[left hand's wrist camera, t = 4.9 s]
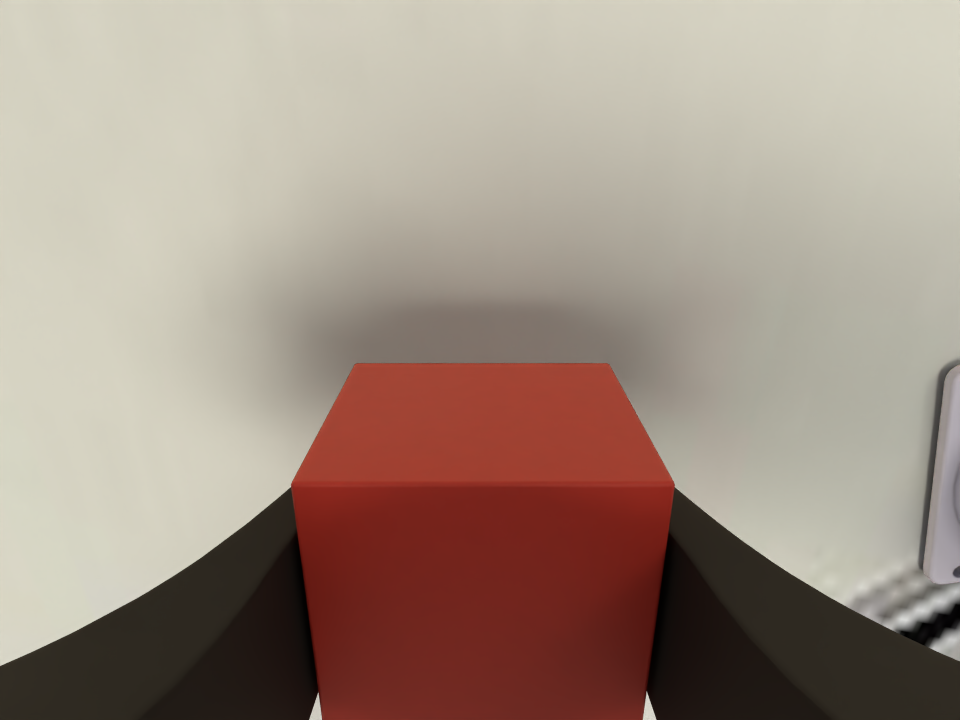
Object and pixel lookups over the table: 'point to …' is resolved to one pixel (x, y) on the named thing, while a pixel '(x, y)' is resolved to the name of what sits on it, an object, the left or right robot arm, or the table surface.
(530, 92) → the table surface
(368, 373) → the brick
